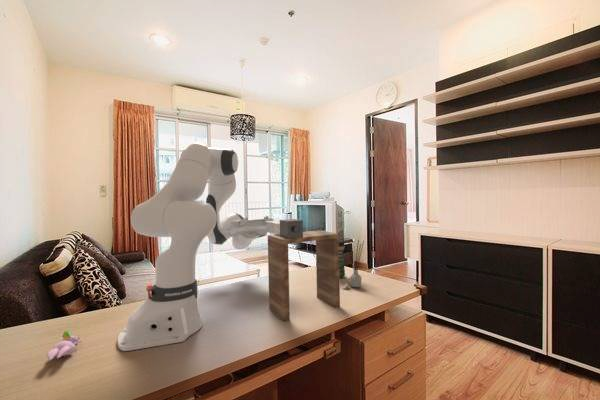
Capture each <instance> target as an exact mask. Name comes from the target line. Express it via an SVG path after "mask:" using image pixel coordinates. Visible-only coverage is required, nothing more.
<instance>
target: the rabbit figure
mask: <svg viewBox="0 0 600 400" xmlns="http://www.w3.org/2000/svg"><path fill="white" fill-rule="evenodd" d="M79 335H80V334H76V336H75V335H71V334H70V333H69V330H68V329H66V330H64V332H63V334H62V338H63V339H62V340H61V341H60V342H58V343H56V344H54V345H52V346H53V347H52V349H51V350H49V351H48V352H47V353H46V354H47V355H46V356H47V359H48V360H49V361H52V360H53V358H54V357H56V358H57V359H60V358H63V357H62V356H64V357H66V356H68V355H69V354H71V353H73V351H75V350H76V348H77V346H76V345H77V344H79V343H81V342H83V339H81V337H80V336H79ZM65 355H66V356H65Z"/></svg>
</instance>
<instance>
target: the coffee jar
mask: <svg viewBox="0 0 600 400" xmlns="http://www.w3.org/2000/svg"><path fill="white" fill-rule="evenodd" d="M344 240H345V239H342V238H340V237H339V279H342V278H344V277H345V276H346V270H345V261H344V251H345V247H346V246H345V241H344Z"/></svg>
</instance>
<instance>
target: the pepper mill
mask: <svg viewBox="0 0 600 400" xmlns="http://www.w3.org/2000/svg"><path fill="white" fill-rule="evenodd" d="M266 232H267V234H268V233H269V234H271V235H275V234H276V235H279V236H280V237H283V238H287V239H291V238H300V237H303V232H304V222H303V219H297V218H293V219H291V218H289V219H280V220H279V221H278V220H274V221H266Z"/></svg>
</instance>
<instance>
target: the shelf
mask: <svg viewBox="0 0 600 400" xmlns="http://www.w3.org/2000/svg"><path fill="white" fill-rule="evenodd" d="M339 238H340V236H339V233H337V232H332V231H325V230H319V229H318V230H309V231H303V237H300V238H291V239H287V238H283V237H280V236H279V235H276V234H267V261H268V263H267V264H268V265H267V266H268V267H267V268H268V306H269V307H268V308H269V310H270V311H272V312H273V313H274V314H275V315H276V316H277V317H279V318H280V319H281V320H282V321H283V322H286V321H289V320H291V317H290V315H291V314H290V312H291V311H290V275H289V273H290V268H289V267H290V266H289V261H290V260H289V244H297V243H305V242H306V243H307V242H315V259H316V264H315V265H316V266H315V267H316V298H318V299H319V300H321V301H323V302H324V303H326V304H328V305H329V306H332V307H333V308H335V309H336V308H340V306H341V300H340V299H341V296H340V295H341V293H340V291H341V290H340V289H341V287H340V278H339Z"/></svg>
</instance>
